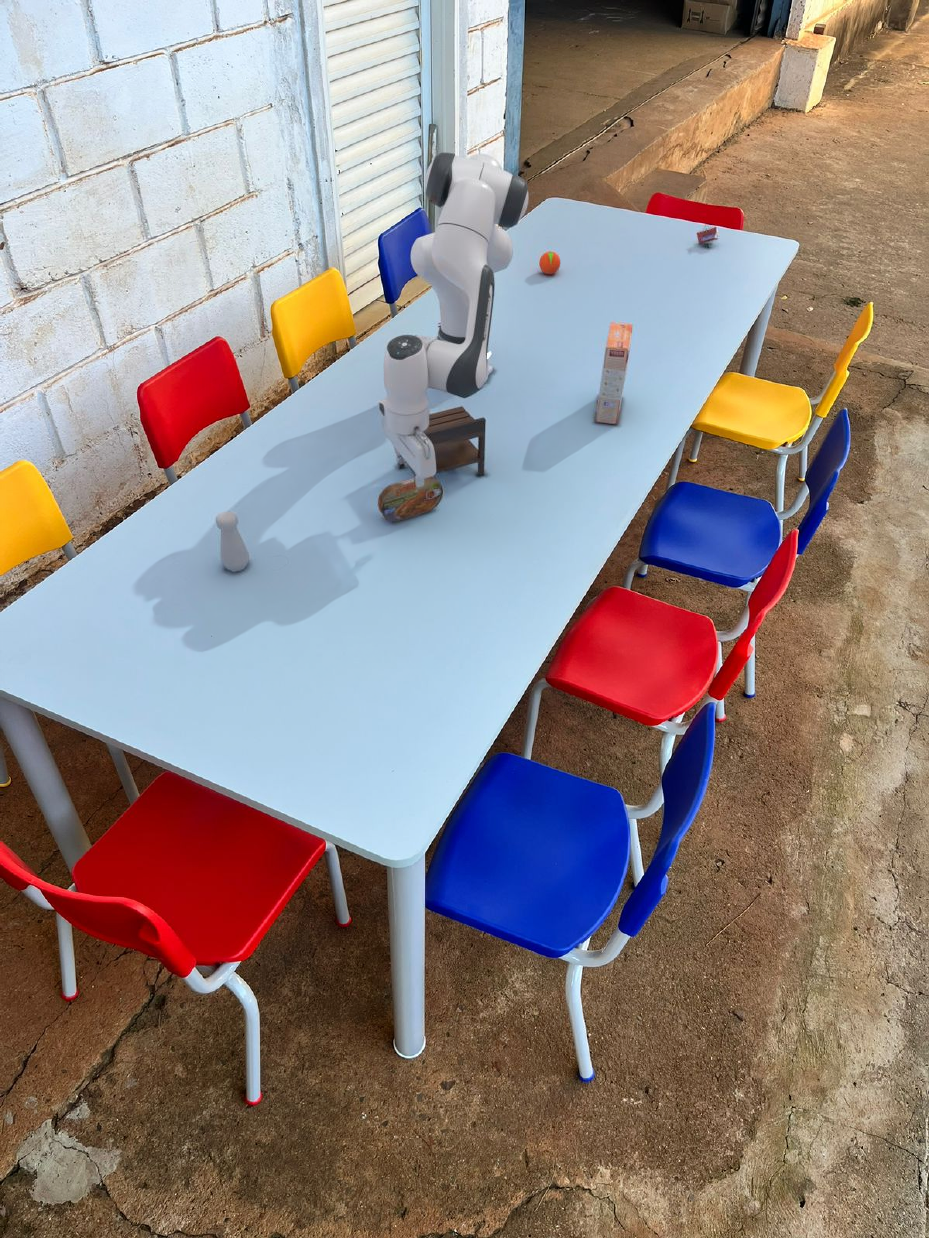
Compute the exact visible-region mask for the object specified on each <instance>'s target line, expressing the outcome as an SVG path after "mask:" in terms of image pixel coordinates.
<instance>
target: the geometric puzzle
mask: <svg viewBox="0 0 929 1238" xmlns="http://www.w3.org/2000/svg"><path fill="white" fill-rule="evenodd" d="M704 226H707V227H708V228H707V227H706V228H703V230H701V231H697V232H696V237H697V242H698V243H697V244H698V245H699V246H701V245H704V246H707V244H709V245H708V248H711V246H712V244H710V242H711V243H714V241H715V242H716V241H717V240H720V239H719V238H720V231H719V229H718V227H717V226H713V227H710V225H708V224H707V223H705V224H704Z"/></svg>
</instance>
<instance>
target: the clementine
mask: <svg viewBox="0 0 929 1238" xmlns="http://www.w3.org/2000/svg"><path fill="white" fill-rule="evenodd" d="M538 264H539V268H540V270H541V272H542V273H544V274H546V275H553V274H555V273H557V272H558V271H559V270H560V268H561V258H560V256H559V254H557V253H556V252H555V251H546V252H544V253H543V254H541V256H540V258H539V262H538Z"/></svg>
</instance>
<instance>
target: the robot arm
mask: <svg viewBox="0 0 929 1238" xmlns="http://www.w3.org/2000/svg"><path fill="white" fill-rule="evenodd" d="M424 189H425V195H426V197H427V199H428V201H429V202H430V203H431V204H433V205H435V206H436V207H438V208H440V209H441V208H442V210H441V213H440V215H439V217H438V222H437V224H436V228H435V231H434V232H432V233H431V232H430V233H428V234H425V235H422V236H420V237H417V238H416V239H415V241H414V243H413V244H412V246H411V250H410V263H411V265H412V269H413V270H414V272H415V273H416V275H417V276H418V277H419V278H420V279H422V280H423V281H425V282H426V283H427V284H429V285H430V287H431V288H432V289H433V291H434V292H435V294H436V296H437V299H438V304H439V315H440V322H438V323H437V325H438V326H437V328H438V331H437V336H435V337H429V336H426V335H416V334H415V335H413V334H402V335H398V336H396V337H393V338H392V339H390V340H389V342H388V343H387V344H386V346H385V350H384V358H383V386H384V389H385V394H386V397H385V398H383V399H380V400H378V401H377V406H378V407H377V408H378V409H379V411H380V418H381V427H382V431H383V433H384V436H385V437H386V438H387V440H388V441H389V442H390V443H391V445H392V448H393V450H394V454H395V460H396V463H397V464H398V463H399V464H400V465H401V464H404V465H405V464H406V462H407V463H408V464H409V466H410V467H411V468H412V469H413V471H414V472H415V474H416V476H414V477H413V478H414V484H415V485H416V486H417V487H421V486H423V485H424V479H425V478H429V477H434V476H436V475H437V474H436V460H435V451H434V447H433V444H432V442H431V441H430V440H429V438H428V437H427V436H426V435H425V434H424V433H423V431H424V430H426V429H427V428H428V426H429V414H430V400H429V397H428V388H429V389H433V390H438V391H442V392H446V393H447V394H450V395H453V396H455V397H458V398H461V399H467V398H470V397H472V396H474V395H475V394H477V393H478V392H480V391H481V390H482V389H483V388H484V386H485V383H486V382H487V381H488V379H489V375H490V374H492V372H493V371H494V368H493V366H492V365H490V360H489V358H490V356H491V355H492V352H491V351H489V341H490V333H491V325H492V317H493V310H494V301H495V288H496V287H495V286H496V285H495V284H496V283H495V273H498V272H501V271H504V270H506V269H508V267H509V266H510V265H511V262H512V259H513V257H514V244H513V241H512V238H511V237H510V235H509V233H508V232H507V231H506V230H505V229H504V228H509V229H511V228H513V227H515V226H517V225H518V224H519V221H520V220H521V219H522V218H523V217H524V215H525V213H526V212H527V209H528V206H529V185H528V183H527V181H526V180H525V179H524V178H522V177H521V176H520V175H518V174H517V173H513V174H512V173H511V172H509V171H506V170H504V169H503V168H502V164H500V162H499V161H498V160H497V159H496V158H495V157H493V156H492V155H490V154H487V153H475V154H472V155H471V156H469V157H464V156H459V155H456V154H455V153H452V152H440V153H438V154H437V155H435V156H434V159H433V160H432V161H431V162H430V164H429V165H428V168H427V170H426V173H425V177H424ZM415 474H414V475H415Z"/></svg>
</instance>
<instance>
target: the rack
mask: <svg viewBox="0 0 929 1238" xmlns="http://www.w3.org/2000/svg"><path fill="white" fill-rule="evenodd" d="M486 421H487V419H486V418H485V417H483V416H482V417H479V418H474V417H473V415H471V414H470V413H469V412H468V411H467V409H466V408H464V406H457V407H453V408H450V409H446V410H445V409H444V410H440V411H437V412H433V413H429V426H428V428H427V429H426V430H424V431H423V433H424V434H425V435H426V436H427V437H428V438H429V440H430V441H431V442H432V444H433V447H434V451H435V460H436V474H435V475H437V474H440V473H444V472H447V471H452V470H456V469H459V468H463V467H467V466H470V465H474V464H477V475H478V476H479V477H482V476H485V460H486V459H485V458H486V457H485V455H486V429H487V428H486V425H487V423H486ZM476 438H477V442H478V443H477V447H476V446H475V445H474V443H473V442H472V441H471V440H473V439H476ZM405 464H406V466H407V467H408V469H410V471H411V472H412V474H413V475H414V477H416V474H415V472H414V471H413V469H412V468H411V467H410V466H409V464H408V463H407V462H406V463H405ZM405 464H401V465H400V464H399V463H398V462H397V468H398V469H399V470H401V469H405Z"/></svg>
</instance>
